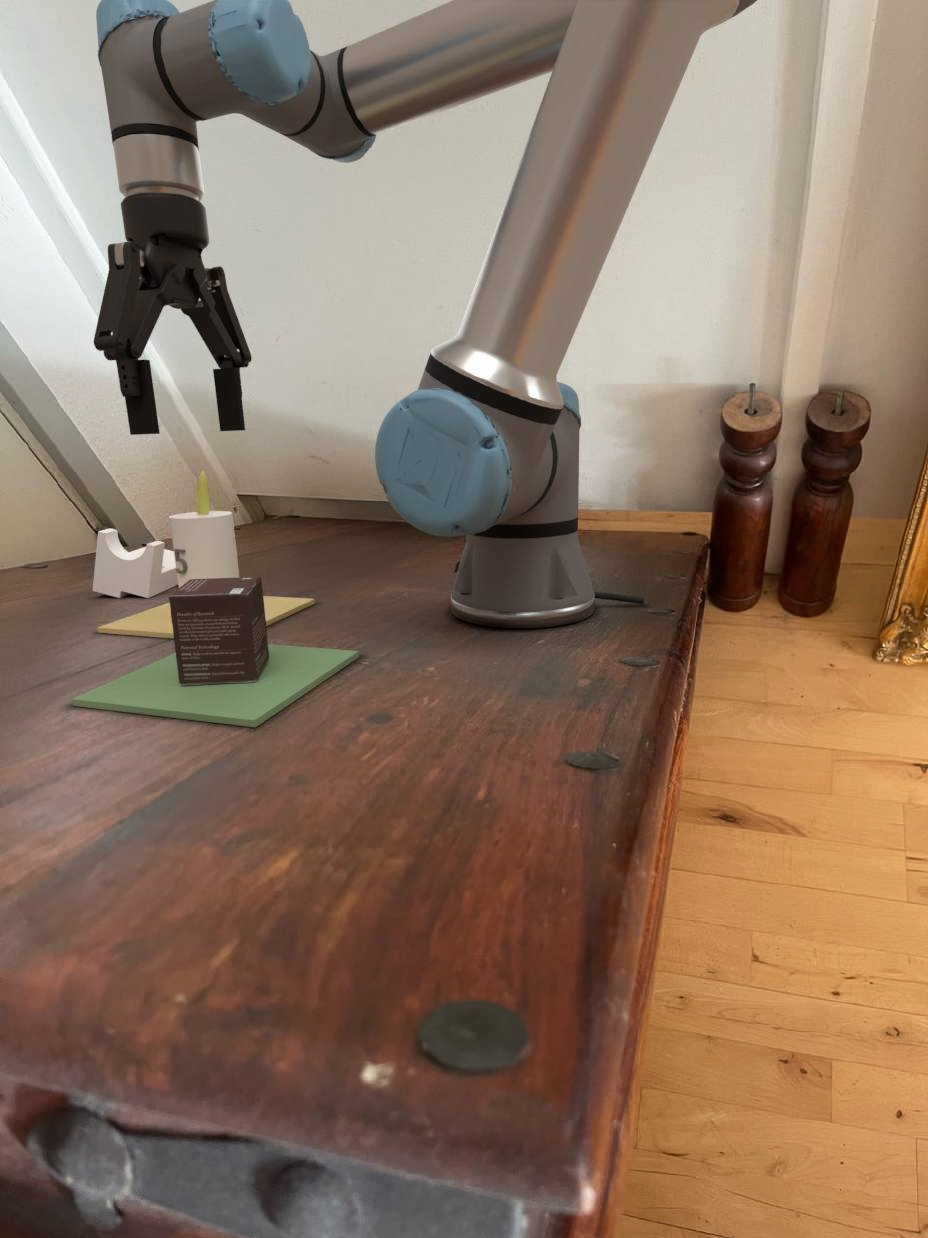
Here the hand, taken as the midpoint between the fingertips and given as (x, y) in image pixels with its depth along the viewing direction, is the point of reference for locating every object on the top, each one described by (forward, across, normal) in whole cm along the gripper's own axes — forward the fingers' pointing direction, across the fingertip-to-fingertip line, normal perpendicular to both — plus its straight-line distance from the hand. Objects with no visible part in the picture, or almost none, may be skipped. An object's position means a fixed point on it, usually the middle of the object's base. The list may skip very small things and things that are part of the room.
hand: (192, 432), depth 76 cm
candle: (+19, 0, 0) cm, 19 cm away
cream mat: (+19, 0, 0) cm, 19 cm away
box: (+19, +17, +14) cm, 29 cm away
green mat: (+20, +17, +14) cm, 29 cm away
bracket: (+19, -12, -18) cm, 29 cm away
